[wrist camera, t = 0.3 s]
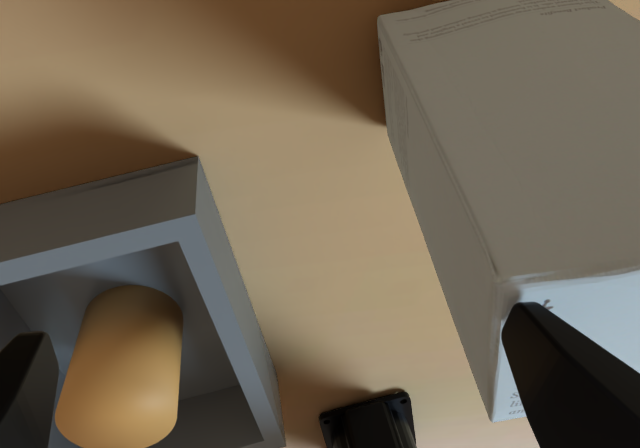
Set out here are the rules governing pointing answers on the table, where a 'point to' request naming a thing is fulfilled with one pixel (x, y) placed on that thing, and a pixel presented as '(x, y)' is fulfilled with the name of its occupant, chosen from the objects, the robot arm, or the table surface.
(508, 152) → the skincare box
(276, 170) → the table surface
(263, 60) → the table surface
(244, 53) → the table surface
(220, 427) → the grey storage bin
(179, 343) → the tan cylinder
